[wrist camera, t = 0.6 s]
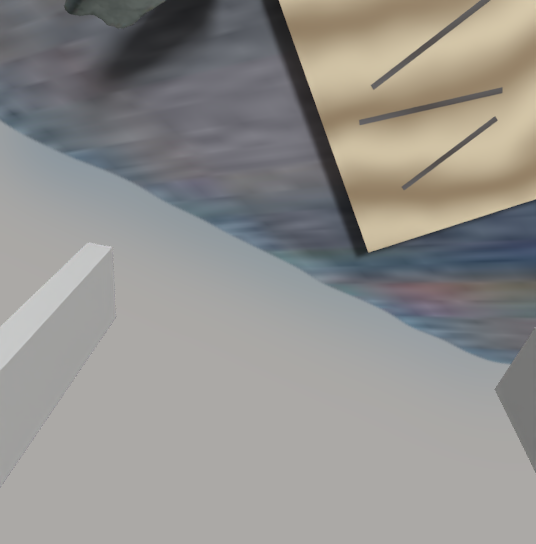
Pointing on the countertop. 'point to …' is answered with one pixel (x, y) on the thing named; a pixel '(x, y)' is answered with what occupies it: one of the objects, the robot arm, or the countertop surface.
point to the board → (423, 106)
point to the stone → (112, 10)
